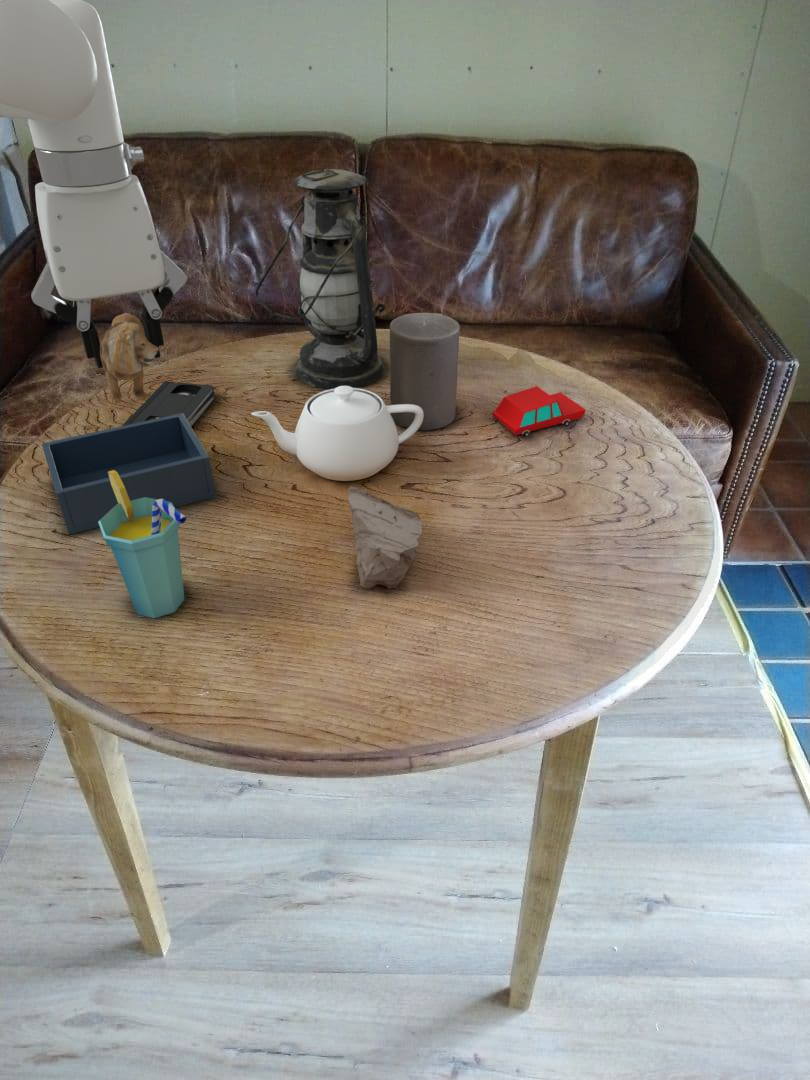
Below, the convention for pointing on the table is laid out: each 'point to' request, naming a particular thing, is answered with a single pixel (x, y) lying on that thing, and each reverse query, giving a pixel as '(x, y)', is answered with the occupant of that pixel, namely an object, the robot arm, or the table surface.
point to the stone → (382, 538)
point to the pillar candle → (424, 368)
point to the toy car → (536, 410)
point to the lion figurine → (126, 355)
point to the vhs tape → (175, 402)
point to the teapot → (344, 433)
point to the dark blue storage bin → (128, 468)
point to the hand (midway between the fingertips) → (126, 356)
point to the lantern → (334, 284)
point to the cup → (146, 549)
